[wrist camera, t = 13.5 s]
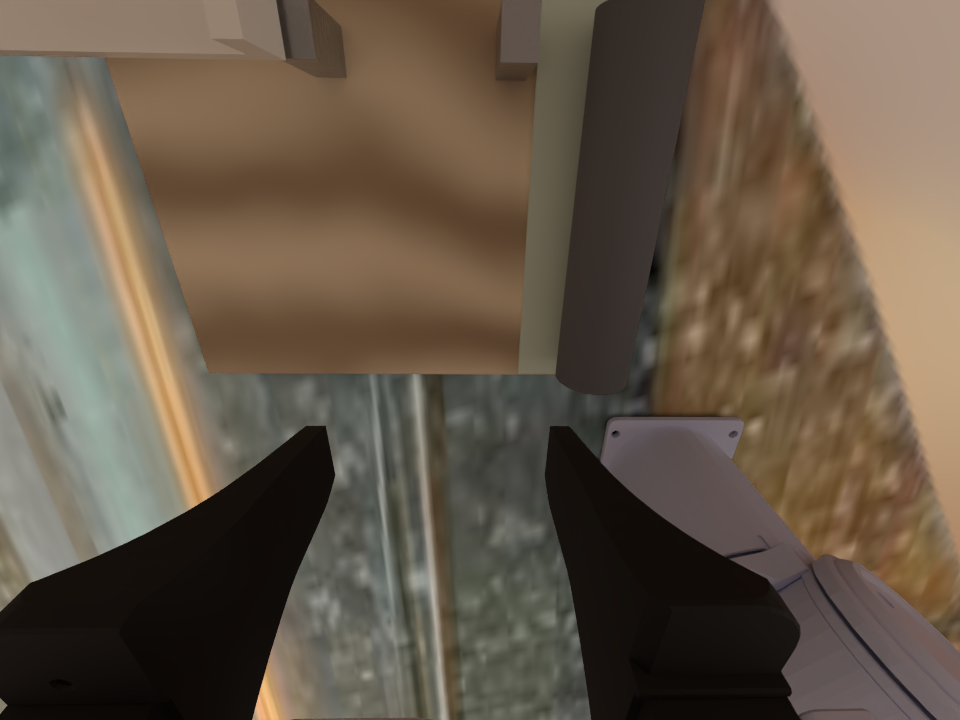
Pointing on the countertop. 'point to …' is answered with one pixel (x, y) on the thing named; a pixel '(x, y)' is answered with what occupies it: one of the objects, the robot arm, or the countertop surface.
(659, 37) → the dark grey rod
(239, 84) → the board
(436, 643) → the countertop surface
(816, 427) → the countertop surface
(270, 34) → the beige l-shaped block
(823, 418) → the countertop surface
